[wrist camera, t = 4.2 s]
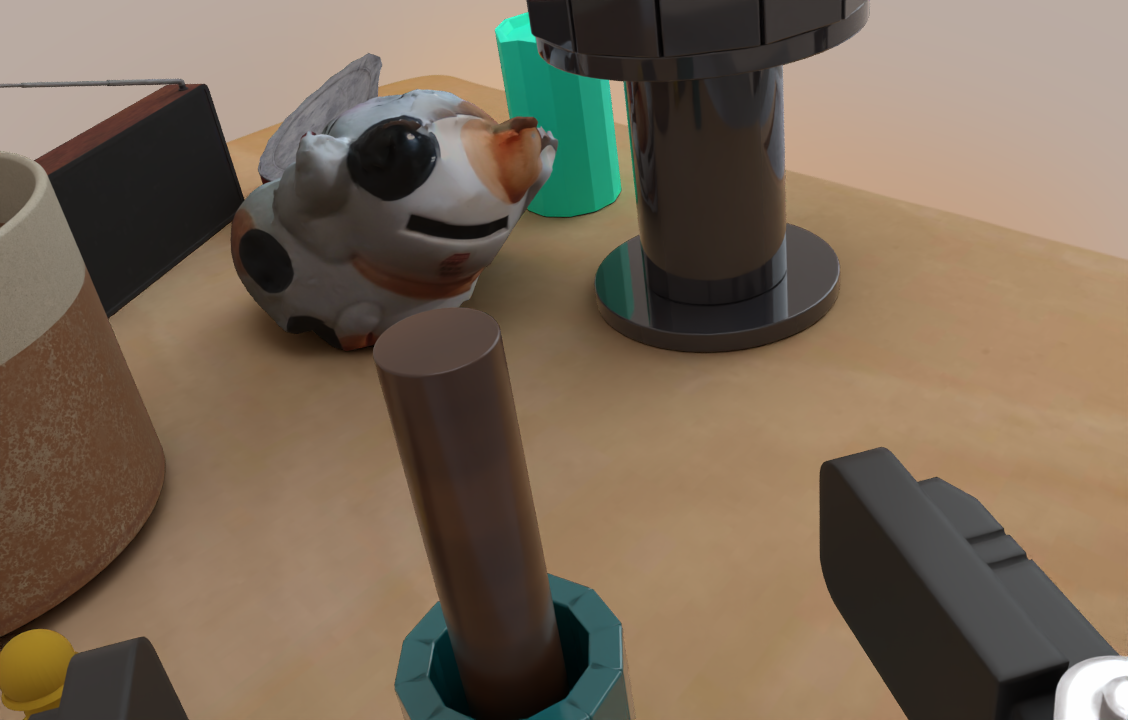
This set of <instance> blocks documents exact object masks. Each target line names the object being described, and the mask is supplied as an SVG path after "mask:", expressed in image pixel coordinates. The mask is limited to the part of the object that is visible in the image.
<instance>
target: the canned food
mask: <svg viewBox="0 0 1128 720" xmlns="http://www.w3.org/2000/svg"><path fill="white" fill-rule="evenodd" d="M381 67H382V63H381V59H380V57H378V56H376V55H373V54H370V53H368V54H366V55H365V56H363V57H362V58H360V59H357V60H355V61H353V62H351V63H350V64H349V65H348V66H346V67H345V68H344V69H343V70H341V71H340V72H339V73H337V74H335V75H334V76H332V77H331V78H330V79H328V80H327V81H326V82H325V83H324V84H323V85H322V87H320V88H319V89H318V90H317V91H315V92H314V93H313V94H311V95H310V96H309V97H307V98H306V99H305V100H304V102H303V103H302V104H301V105H300V106H299V107H298V108H297V109H296V110H295V111H294V112H293V113H292V114H290V115H289V116H288V117H287V118H286V119H285V120H284V122H283V123H282V124H281V126H280V127H279V129H278V130H277V131H276V132H275V134H274V135H273V136H272V137H271V138H270V139H269V140H268V143H267V146H266V148H265V151H264V152H263V154H262V156H261V157H260V163H259V166H258V172H259V174H260V176H261V180H262V183H263V184H265V183H268V182H271V181H274V180H276V179H278V178H281V177H282V175H283V173H284V170H285V169H286V168H287V167H288V166H289V165H290V164H291V163H293V162H296V152H297V150H298V147H299V143H300V140H301V137H302V136H303V135H304V134H305V133H306V132H307V131H312V132H314V133H316V135H320V134H321V133H322V132H323V129H324V127H325V126H326V125H327V124H328V123H329V122H330V121H331V120H332V119H334V118H336V117H337V116H338V115H339V114H341V113H343V112H345V111H347V110H349V109H352V108H353V107H354V106H356V105H357V104H360V103H364V102H366V101H368V100H369V99H372V98H376V97H378V81H379V74H380V70H381Z"/></svg>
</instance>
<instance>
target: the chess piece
mask: <svg viewBox="0 0 1128 720" xmlns="http://www.w3.org/2000/svg"><path fill="white" fill-rule="evenodd" d="M77 653H78V652H74V649H73V647H72V645H71V644H70V643H69V641H68V640H67V639H66V638H65V637H64V636H62V635H61V634H59V633H57V632H55V631H51V630H48V629H34V630H29V631H26V632H23V633H21V634H19V635H17V636H16V637H14V638H13V639H11V640H10V641H9V642H8V643H7V644H6V645H5V646H4V648H3V649H2V651H1V652H0V689H1V690H2V697H1V698H2V702H3V704H4V706H6V707H7V708H8V709H11V710H14V711H24V713H25V715H26V717H25V718H24V719H23V720H28V719H29V717H30V716H31V715H32V714H36V713H39V712H43V711H47V710H51V709H54V708H58V707H59V705H60V700H61V696H62V691H63V687H64V682H65V677H66V673H67V668H68V665H69V662H70V660H71V658H72V657H73V655H75V654H77Z"/></svg>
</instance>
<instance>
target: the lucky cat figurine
mask: <svg viewBox="0 0 1128 720" xmlns="http://www.w3.org/2000/svg"><path fill="white" fill-rule="evenodd" d="M537 125H538V121H537V120H536V118H535V117H520V116H517V117H514V118H512V119H510V120H508V121H505V122H503V123H501V124H498V123H497V122H496V121H495V120H494V119H493V118H491V117H490V116H489V115H488V114H487V113H486V112H484V111H483V110H482V109H480V108H479V107H477V106H476V105H475V104H473V103H470V102H468V101H465V100H462V99H461V98H459V97H457V96H456V95H454V94H452V93H450V92H449V93H448V92H445V91H434V90H419V89H416V90H413V91H410V92H408V93H405V94H403V95H393V96H385V97H376V98H372V99H369V100H368V101H366V102H364V103H360V104H357V105H356V106H354V107H353V108H352V109H349V110H347V111H345V112H343V113H341V114H339V115H338V116H337V117H336V118H334V119H332V120H331V121H330V122H329V123H328V124H327V125H326V126H325V127H324V129H323V132H322V133H321V134H320V135H316V133H314V132H312V131H307V132H306V133H305V134H304V135H303V136H302V137H301V140H300V143H299V147H298V150H297V152H296V162H293V163H291V164H290V165H289V166H288V167H287V168H286V169H285V170H284V173H283V175H282V177H281V178H278V179H276V180H274V181H271V182H268V183H265V184H263V185H261V186H260V187H258V188H256V189H255V190H254V191H253V192H252V193H251V194H250V195H249V196H248V197H247V198H246V199H245V200H244V201H243V203H242V204H241V205H240V207H239V208H238V210H237V212H236V214H235V216H234V219H233V222H232V228H231V253H232V258H233V262H234V266H235V269H236V271H237V274H238V276H239V278H240V279H241V281H242V283H243V284H244V286H245V287H246V289H247V291H248V292H249V293H250V295H251V296H252V297H253V298H254V300H255V301H256V302H257V303H258V304H259V305H260V306H261V308H263V309H264V310H265V311H266V312H267V313H268V314H269V315H270V316H271V317H272V318H273V319H274V320H275V322H276V323H277V324H278V325H279V326H280V327H281V328H282V329H283V330H284V331H285V332H289V333H294V334H299V333H303V332H308V331H313V332H315V333H316V334H317V335H318V336H320V337H321V338H322V339H323V340H325V341H326V342H327V343H329V344H330V345H331V346H332V347H336V348H340V349H342V350H344V351H350V350H355V349H359V348H363V347H367V346H372V345H375V343H376V341H377V340H378V338H379V337H380V336H381V335H382V334H383V333H384V332H385V331H386V330H387V329H388V328H390V327H391V326H392V325H394V324H396V323H397V322H399V321H401V320H403V319H405V318H407V317H410V316H412V315H415V314H418V313H421V312H425V311H429V310H434V309H440V308H450V307H459V306H460V305H461V304H462V303H463V302H464V301H466V300H469V299H470V297H471V296H472V294H473V291H474V288H475V285H476V283H477V280H478V277H479V275H480V273H481V272H482V271H483V269H484V268H485V267H487V266H488V265H489V264H490V263H491V262H492V261H493V259H494V257H495V256H496V254H497V253H498V251H499V250H500V248H501V247H502V245H503V244H504V242H505V241H506V239H507V238H508V236H509V234H510V233H511V231H512V229H513V228H514V226H515V225H516V223H517V222H518V220H519V219H520V217H521V216H522V214H523V213H524V212H525V210H526V209H527V207H528V206H529V204H530V203H531V201H532V200H533V199H534V197H535V196H536V194H537V193H538V191H539V190H540V189H541V188H542V186H543V185H544V184H545V182H546V181H547V180H548V178H549V177H550V176H551V172H552V170H553V169H552V165H553V162H554V158H555V154H556V151H557V147H558V140H557V139H555V138H554V137H553V135H552V133H551V131H547V133H546V132H545V130H544V129H543V128H542V127H541V128H537Z"/></svg>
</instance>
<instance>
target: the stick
mask: <svg viewBox="0 0 1128 720" xmlns="http://www.w3.org/2000/svg"><path fill="white" fill-rule="evenodd" d="M373 358H374V362H375V366H376V369H377V373H378V377H379V380H380V384H381V388H382V391H383V395H384V399H385V402H386V406H387V410H388V413H389V417H390V421H391V424H392V428H393V432H394V435H395V439H396V443H397V446H398V450H399V454H400V457H401V461H402V465H403V468H404V472H405V476H406V479H407V483H408V487H409V490H410V494H411V498H412V502H413V505H414V509H415V513H416V516H417V520H418V524H419V527H420V531H421V535H422V538H423V542H424V546H425V549H426V553H427V557H428V560H429V564H430V568H431V571H432V575H433V579H434V582H435V586H436V590H437V593H438V597H439V601H440V604H441V608H442V612H443V615H444V619H445V623H446V626H447V630H448V634H449V637H450V641H451V645H452V648H453V652H454V656H455V659H456V663H457V667H458V670H459V674H460V678H461V681H462V685H463V689H464V692H465V696H466V700H467V703H468V707H469V711H470V714H471V718H473V719H475V720H519V719H527V718H529V717H531V716H533V715H535V714H537V713H538V712H540V711H542V710H544V709H546V708H548V707H550V706H552V705H554V704H555V703H557V702H559V701H561V700H563V699H565V698H566V697H567V695H568V694H569V693H570V689H569V683H568V678H567V673H566V668H565V663H564V657H563V652H562V647H561V642H560V637H559V632H558V626H557V621H556V616H555V611H554V606H553V600H552V595H551V590H550V585H549V580H548V574H547V569H546V564H545V559H544V554H543V549H542V543H541V538H540V533H539V528H538V523H537V517H536V512H535V507H534V502H533V497H532V492H531V486H530V481H529V476H528V471H527V466H526V460H525V455H524V450H523V445H522V440H521V435H520V429H519V424H518V419H517V414H516V409H515V403H514V398H513V393H512V388H511V383H510V377H509V372H508V367H507V362H506V357H505V352H504V346H503V341H502V336H501V331H500V327H499V325H498V323H497V322H496V320H495V319H494V318H493V317H491V316H490V315H488V314H487V313H485V312H482V311H479V310H475V309H470V308H461V307H450V308H440V309H434V310H429V311H425V312H421V313H418V314H415V315H412V316H410V317H407V318H405V319H403V320H401V321H399V322H397V323H396V324H394V325H392V326H391V327H390V328H388V329H387V330H386V331H385V332H384V333H383V334H382V335H381V336H380V337H379V338H378V340H377V341H376V343H375V345H374V349H373Z"/></svg>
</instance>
